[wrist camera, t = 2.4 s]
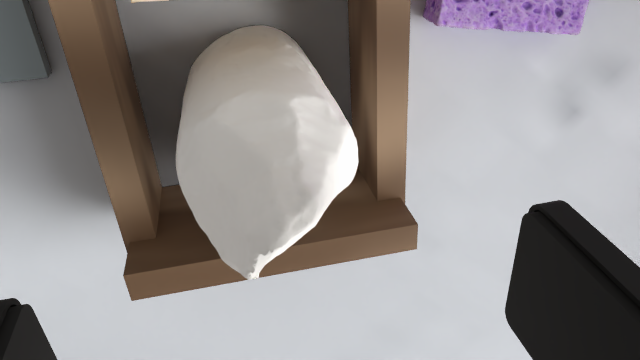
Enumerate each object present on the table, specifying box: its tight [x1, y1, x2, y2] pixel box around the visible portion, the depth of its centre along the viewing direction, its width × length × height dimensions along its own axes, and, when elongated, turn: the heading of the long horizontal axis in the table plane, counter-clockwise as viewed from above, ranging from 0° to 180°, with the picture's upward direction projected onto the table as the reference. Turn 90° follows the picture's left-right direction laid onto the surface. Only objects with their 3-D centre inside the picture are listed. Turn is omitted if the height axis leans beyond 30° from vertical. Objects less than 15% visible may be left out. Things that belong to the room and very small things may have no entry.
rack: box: [48, 0, 418, 301], centre depth 18 cm, size 16×11×6 cm
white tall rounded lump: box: [176, 25, 359, 280], centre depth 17 cm, size 6×12×6 cm
